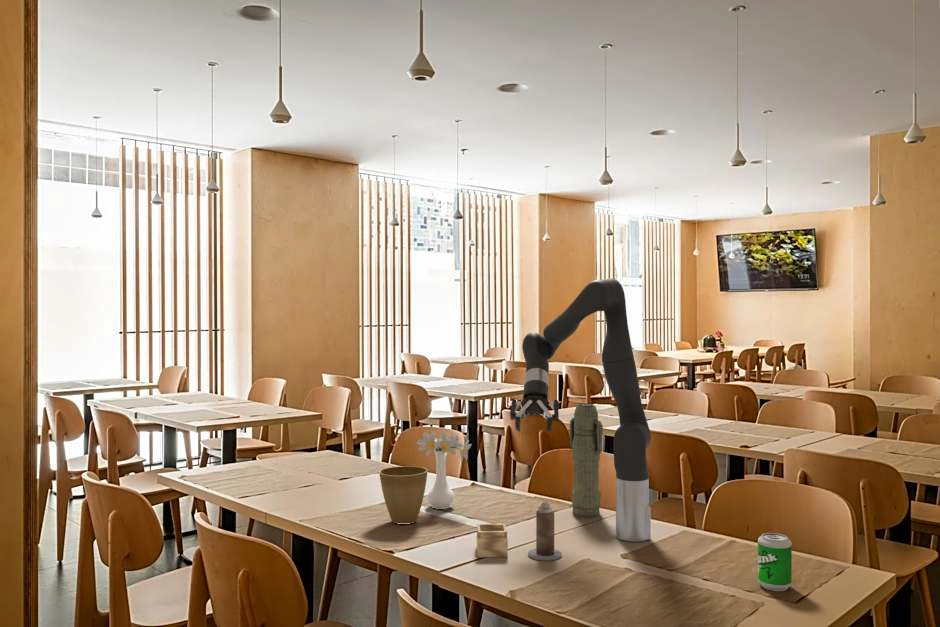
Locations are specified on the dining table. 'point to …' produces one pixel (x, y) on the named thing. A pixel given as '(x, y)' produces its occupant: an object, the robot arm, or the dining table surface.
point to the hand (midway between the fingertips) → (533, 430)
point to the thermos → (586, 459)
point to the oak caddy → (492, 540)
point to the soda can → (774, 561)
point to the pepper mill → (545, 530)
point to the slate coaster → (535, 556)
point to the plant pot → (403, 491)
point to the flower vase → (441, 466)
